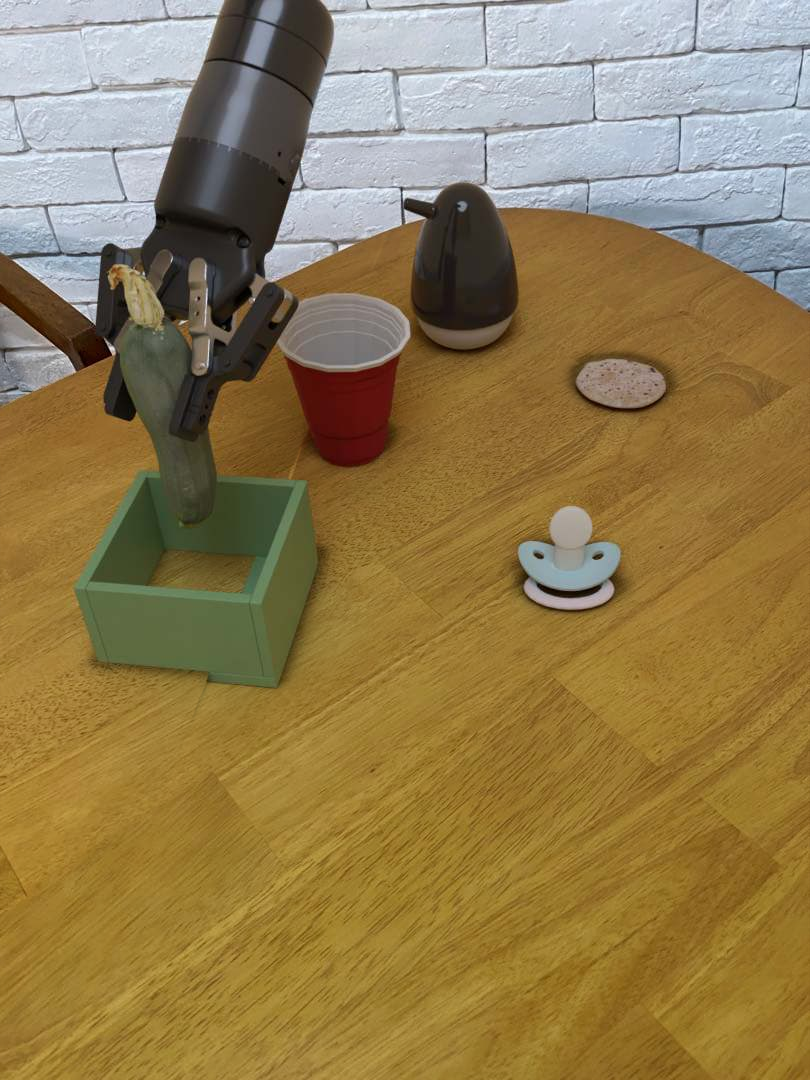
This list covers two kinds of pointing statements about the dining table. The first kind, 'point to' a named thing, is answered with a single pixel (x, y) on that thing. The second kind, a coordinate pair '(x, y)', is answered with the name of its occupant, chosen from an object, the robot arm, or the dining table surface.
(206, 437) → the vegetable
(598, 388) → the flatbread
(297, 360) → the plastic cup
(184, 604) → the green bin
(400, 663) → the dining table surface
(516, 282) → the pump dispenser
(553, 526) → the pacifier
